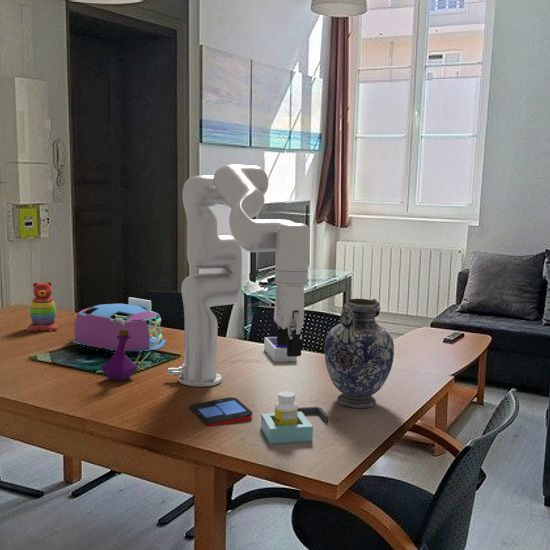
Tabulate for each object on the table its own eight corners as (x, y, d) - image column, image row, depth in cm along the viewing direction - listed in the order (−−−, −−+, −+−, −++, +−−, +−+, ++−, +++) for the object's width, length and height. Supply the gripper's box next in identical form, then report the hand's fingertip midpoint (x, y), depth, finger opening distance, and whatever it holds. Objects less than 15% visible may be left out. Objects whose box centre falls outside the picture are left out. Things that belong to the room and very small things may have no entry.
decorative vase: (341, 385, 198) (347, 291, 193) (402, 398, 188) (409, 299, 184) (307, 405, 179) (312, 302, 175) (372, 421, 170) (379, 312, 166)
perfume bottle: (137, 377, 200) (137, 317, 197) (122, 384, 193) (121, 322, 190) (117, 373, 203) (117, 314, 200) (101, 380, 196) (100, 319, 193)
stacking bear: (26, 332, 251) (25, 284, 248) (30, 326, 261) (29, 280, 258) (56, 331, 253) (55, 284, 251) (59, 325, 263) (58, 280, 260)
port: (269, 443, 153) (270, 428, 153) (260, 427, 163) (261, 413, 162) (312, 441, 155) (312, 426, 155) (300, 425, 165) (301, 411, 165)
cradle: (294, 424, 166) (295, 418, 166) (287, 413, 173) (287, 408, 173) (328, 422, 168) (328, 416, 168) (319, 412, 175) (320, 406, 175)
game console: (188, 409, 176) (188, 401, 175) (234, 403, 181) (234, 395, 181) (206, 428, 163) (206, 419, 162) (255, 422, 168) (255, 413, 168)
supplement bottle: (273, 429, 162) (274, 390, 160) (295, 429, 162) (297, 390, 161) (275, 438, 157) (276, 397, 155) (298, 438, 157) (299, 397, 156)
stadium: (59, 341, 239) (58, 302, 237) (108, 329, 259) (108, 293, 257) (133, 357, 221) (133, 315, 219) (180, 343, 242) (180, 304, 240)
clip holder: (274, 362, 221) (274, 348, 220) (264, 349, 236) (264, 337, 235) (296, 361, 222) (297, 347, 222) (285, 349, 237) (285, 336, 237)
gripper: (267, 271, 161) (264, 341, 164) (284, 283, 145) (281, 361, 147) (297, 271, 163) (294, 340, 166) (318, 283, 146) (314, 360, 149)
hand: (288, 350), depth 156 cm, fingers open, 9 cm apart
